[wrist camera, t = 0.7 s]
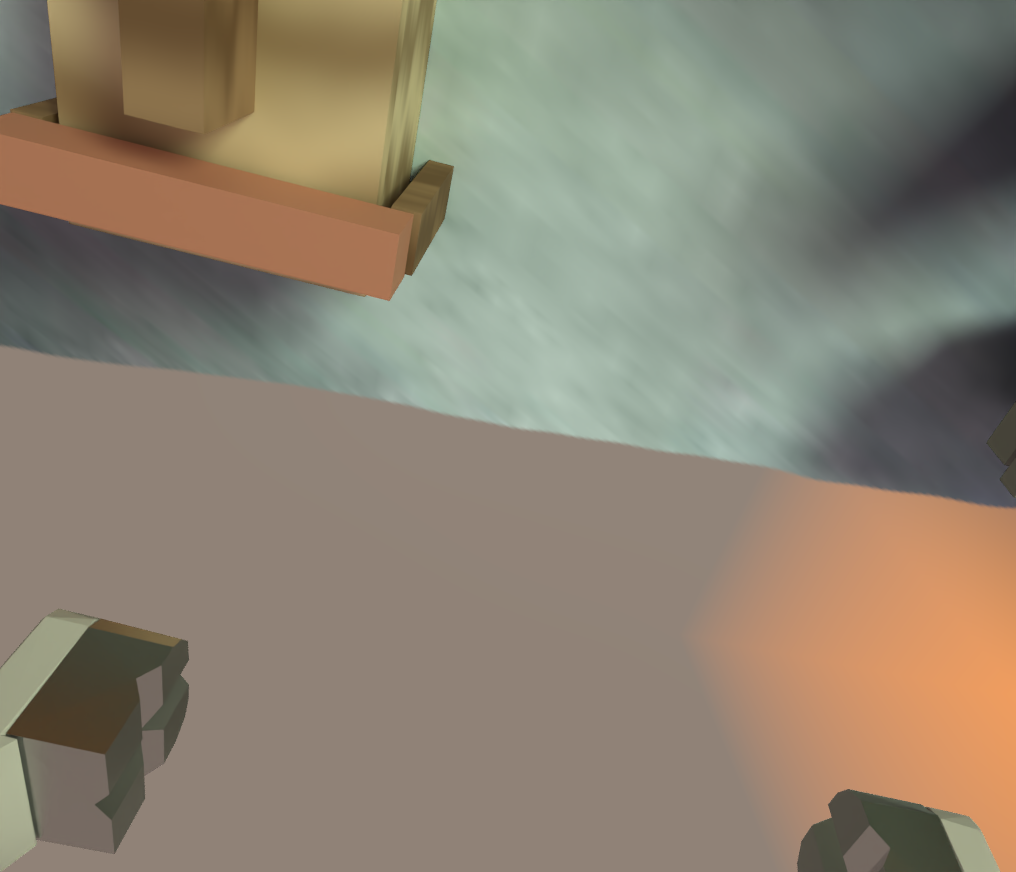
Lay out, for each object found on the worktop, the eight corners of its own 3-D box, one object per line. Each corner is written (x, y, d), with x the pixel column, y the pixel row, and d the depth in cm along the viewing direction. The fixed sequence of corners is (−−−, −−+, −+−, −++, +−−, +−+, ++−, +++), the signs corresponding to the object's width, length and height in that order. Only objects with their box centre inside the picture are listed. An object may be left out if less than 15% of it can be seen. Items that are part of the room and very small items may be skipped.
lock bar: (12, 112, 33) (-36, 124, 30) (413, 214, 34) (399, 234, 31) (21, 180, 35) (-24, 198, 32) (404, 276, 35) (389, 300, 33)
